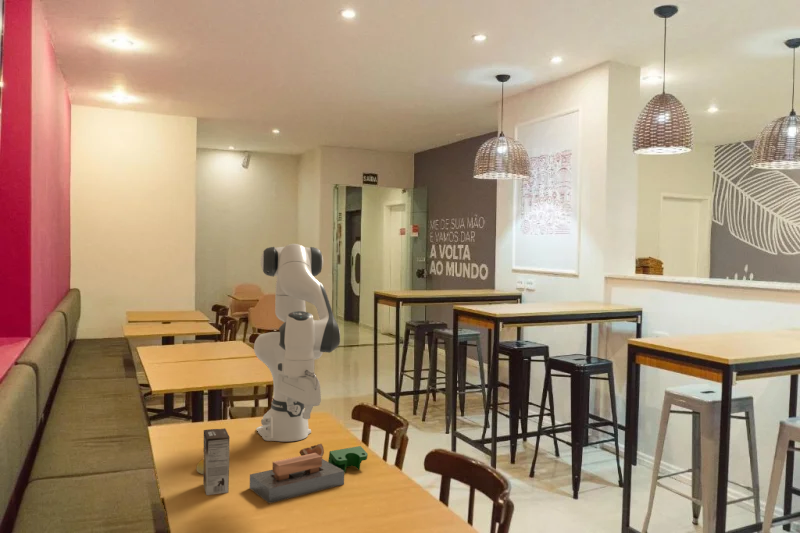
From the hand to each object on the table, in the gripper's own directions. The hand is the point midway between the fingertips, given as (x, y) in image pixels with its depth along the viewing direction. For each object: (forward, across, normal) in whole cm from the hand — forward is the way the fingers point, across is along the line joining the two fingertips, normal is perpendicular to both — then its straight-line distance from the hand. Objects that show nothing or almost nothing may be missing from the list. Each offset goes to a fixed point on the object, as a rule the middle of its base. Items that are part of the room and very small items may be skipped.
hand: (298, 414), depth 176 cm
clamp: (+22, +4, -20) cm, 30 cm away
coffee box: (+21, +12, +20) cm, 32 cm away
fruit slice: (+22, +17, -14) cm, 31 cm away
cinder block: (+21, 0, 0) cm, 21 cm away
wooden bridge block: (+21, 0, 0) cm, 21 cm away
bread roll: (+22, +26, +16) cm, 38 cm away
